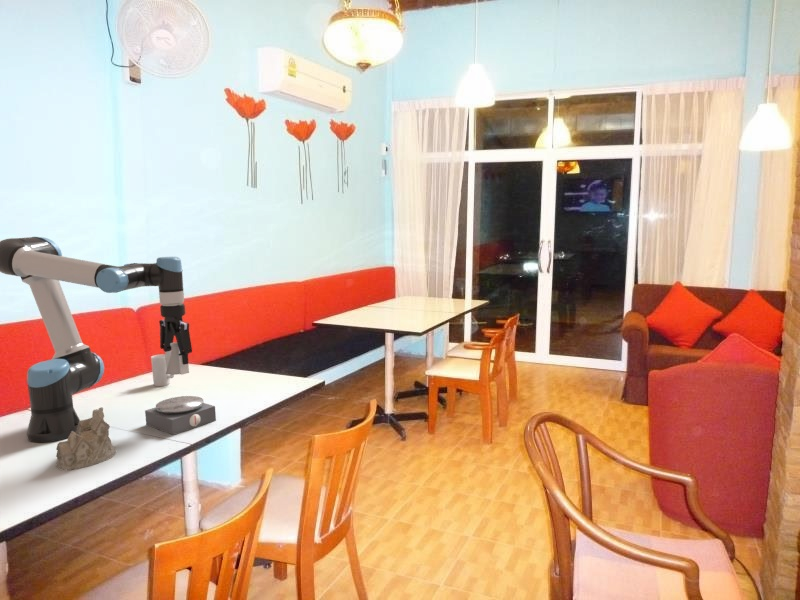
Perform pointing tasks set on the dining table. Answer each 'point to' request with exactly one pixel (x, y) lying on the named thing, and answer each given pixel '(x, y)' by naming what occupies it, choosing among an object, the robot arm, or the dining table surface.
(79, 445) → the ceramic cottage
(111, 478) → the dining table surface
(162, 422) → the base
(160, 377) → the mug
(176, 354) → the flask
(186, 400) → the scale pan
